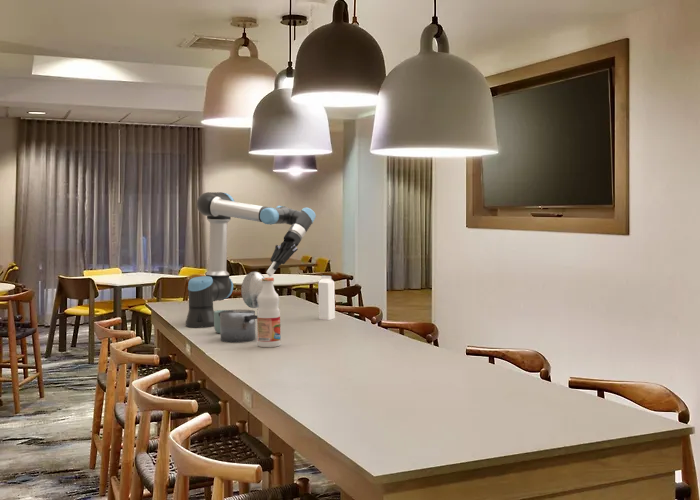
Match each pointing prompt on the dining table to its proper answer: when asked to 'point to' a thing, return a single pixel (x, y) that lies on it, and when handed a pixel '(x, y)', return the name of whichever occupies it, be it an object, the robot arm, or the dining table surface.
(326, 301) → the milk
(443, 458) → the dining table surface
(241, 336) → the cooker pot
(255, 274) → the lid
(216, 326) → the cup
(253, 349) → the dining table surface
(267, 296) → the fruit juice
